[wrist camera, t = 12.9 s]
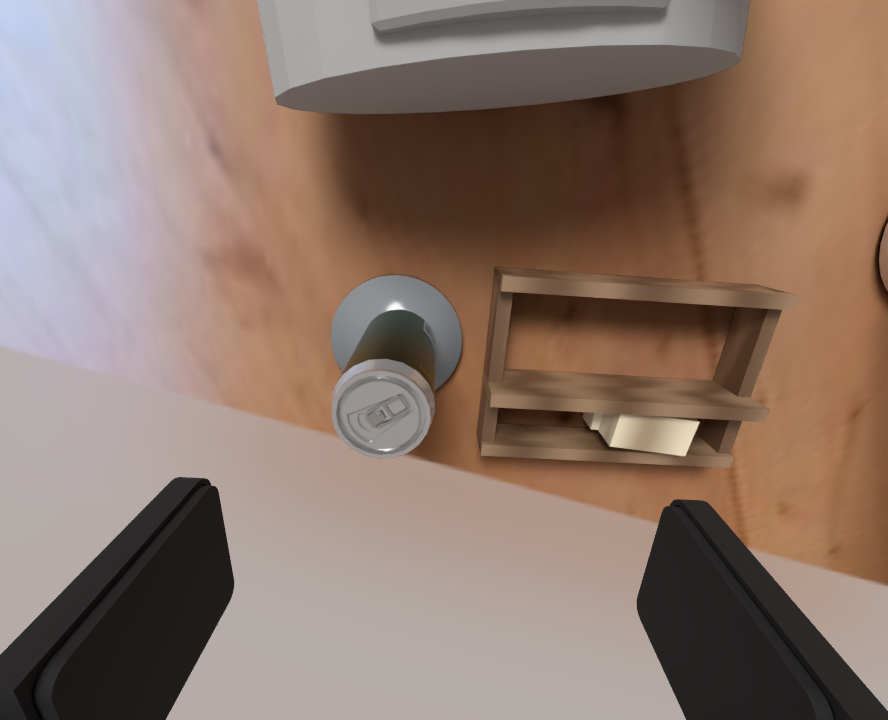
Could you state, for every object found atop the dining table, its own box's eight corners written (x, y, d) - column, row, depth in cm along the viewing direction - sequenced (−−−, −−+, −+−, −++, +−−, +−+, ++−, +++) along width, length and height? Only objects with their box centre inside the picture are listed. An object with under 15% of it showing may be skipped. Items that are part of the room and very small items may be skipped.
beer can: (411, 293, 31) (398, 346, 19) (448, 353, 32) (455, 432, 21) (350, 329, 32) (304, 399, 20) (389, 385, 33) (366, 478, 22)
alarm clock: (677, -21, 25) (894, -223, 13) (665, 97, 27) (842, 16, 15) (293, 10, 25) (166, -160, 13) (312, 125, 28) (217, 67, 16)
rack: (757, 284, 32) (812, 299, 27) (703, 444, 37) (743, 479, 32) (494, 267, 31) (505, 278, 26) (476, 432, 36) (482, 467, 31)
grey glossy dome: (466, 278, 31) (467, 280, 30) (456, 399, 35) (456, 404, 34) (331, 269, 31) (328, 271, 30) (334, 393, 34) (332, 397, 34)
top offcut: (681, 407, 33) (699, 421, 31) (668, 439, 34) (685, 456, 32) (609, 396, 33) (621, 410, 30) (598, 430, 34) (609, 446, 31)
